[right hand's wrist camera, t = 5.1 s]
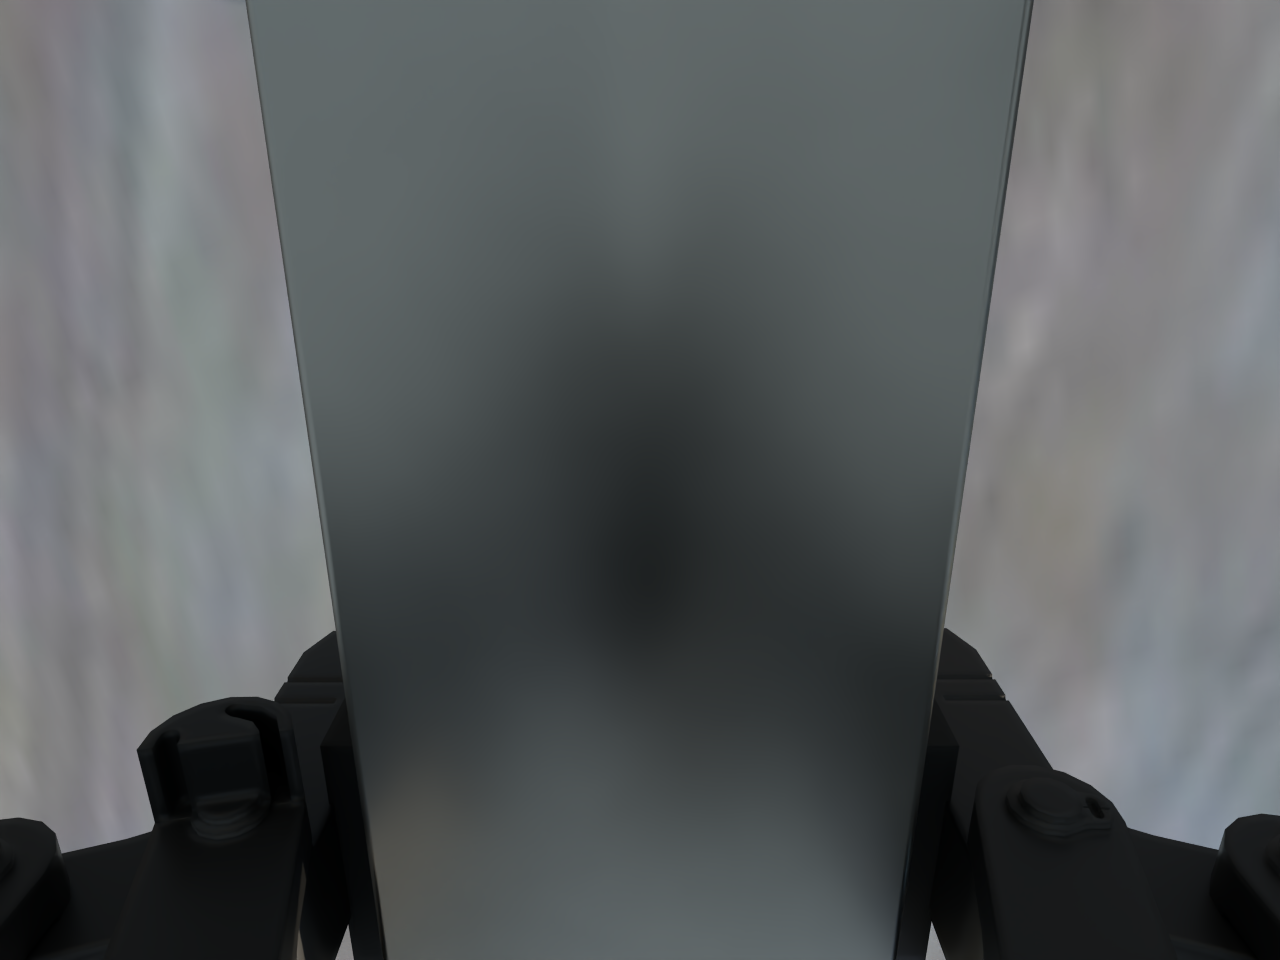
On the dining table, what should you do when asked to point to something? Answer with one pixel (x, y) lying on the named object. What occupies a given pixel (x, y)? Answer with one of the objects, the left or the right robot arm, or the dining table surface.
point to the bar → (639, 446)
